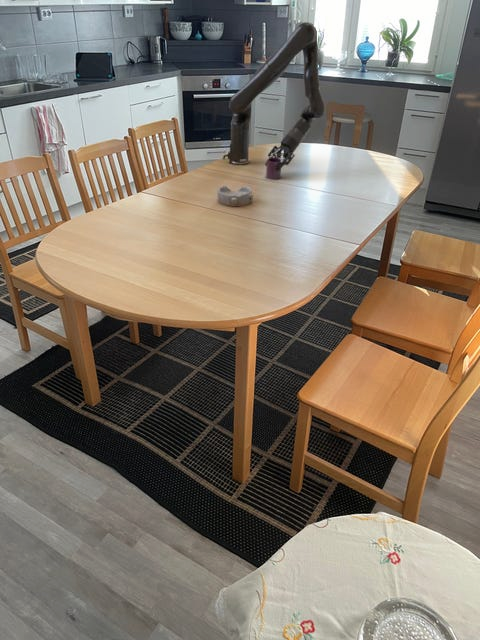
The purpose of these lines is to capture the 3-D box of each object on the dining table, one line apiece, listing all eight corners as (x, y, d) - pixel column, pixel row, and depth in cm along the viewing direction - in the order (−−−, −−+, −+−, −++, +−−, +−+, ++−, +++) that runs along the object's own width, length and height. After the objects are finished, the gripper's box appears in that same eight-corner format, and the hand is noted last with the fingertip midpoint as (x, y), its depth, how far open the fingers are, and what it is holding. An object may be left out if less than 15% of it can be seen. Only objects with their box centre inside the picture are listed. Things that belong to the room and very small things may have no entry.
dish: (213, 198, 208) (213, 186, 205) (244, 194, 212) (244, 183, 209) (224, 209, 196) (225, 197, 194) (257, 205, 201) (257, 193, 198)
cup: (265, 178, 232) (266, 161, 228) (267, 174, 238) (267, 157, 233) (279, 179, 231) (280, 162, 227) (281, 175, 237) (282, 158, 232)
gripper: (279, 131, 233) (258, 159, 234) (298, 137, 223) (276, 166, 223) (287, 141, 238) (266, 169, 239) (306, 148, 228) (284, 176, 229)
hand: (271, 168), depth 231 cm, fingers open, 7 cm apart
